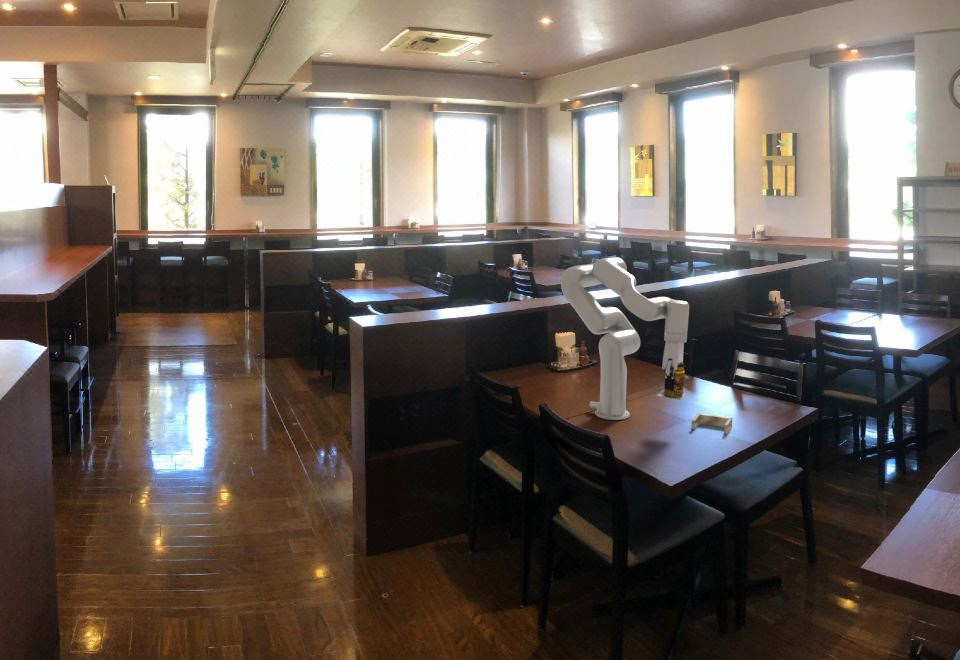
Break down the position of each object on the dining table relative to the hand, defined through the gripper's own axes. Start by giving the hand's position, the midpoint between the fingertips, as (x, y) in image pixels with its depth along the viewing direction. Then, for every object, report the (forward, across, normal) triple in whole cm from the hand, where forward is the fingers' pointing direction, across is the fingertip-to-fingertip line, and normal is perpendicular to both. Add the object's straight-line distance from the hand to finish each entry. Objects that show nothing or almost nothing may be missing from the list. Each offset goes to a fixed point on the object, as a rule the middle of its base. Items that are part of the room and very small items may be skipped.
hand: (671, 386), depth 264 cm
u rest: (+15, -8, +13) cm, 22 cm away
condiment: (+3, 0, 0) cm, 3 cm away
